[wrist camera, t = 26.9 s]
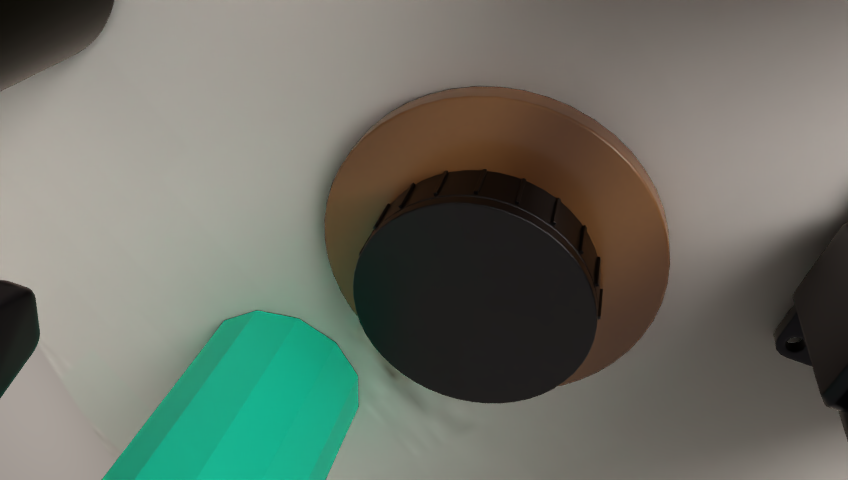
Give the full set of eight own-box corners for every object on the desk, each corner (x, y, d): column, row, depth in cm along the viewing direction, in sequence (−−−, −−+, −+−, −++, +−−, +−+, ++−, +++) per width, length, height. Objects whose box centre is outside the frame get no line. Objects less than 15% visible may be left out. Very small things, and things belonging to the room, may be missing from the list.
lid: (595, 161, 18) (590, 196, 17) (608, 366, 22) (605, 411, 20) (349, 173, 21) (325, 205, 19) (395, 358, 24) (378, 399, 22)
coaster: (736, 160, 18) (740, 174, 18) (589, 415, 24) (588, 432, 23) (367, 34, 19) (358, 43, 18) (310, 311, 25) (301, 325, 24)
